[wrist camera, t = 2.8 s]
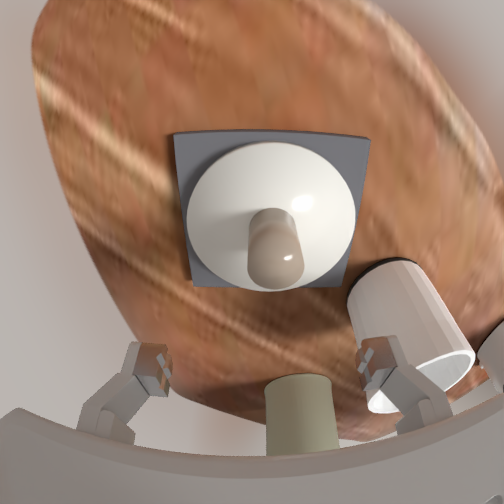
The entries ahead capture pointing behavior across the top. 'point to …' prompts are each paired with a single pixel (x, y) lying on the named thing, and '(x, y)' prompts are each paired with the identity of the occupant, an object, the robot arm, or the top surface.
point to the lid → (270, 216)
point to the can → (300, 415)
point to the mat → (222, 141)
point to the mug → (408, 324)
